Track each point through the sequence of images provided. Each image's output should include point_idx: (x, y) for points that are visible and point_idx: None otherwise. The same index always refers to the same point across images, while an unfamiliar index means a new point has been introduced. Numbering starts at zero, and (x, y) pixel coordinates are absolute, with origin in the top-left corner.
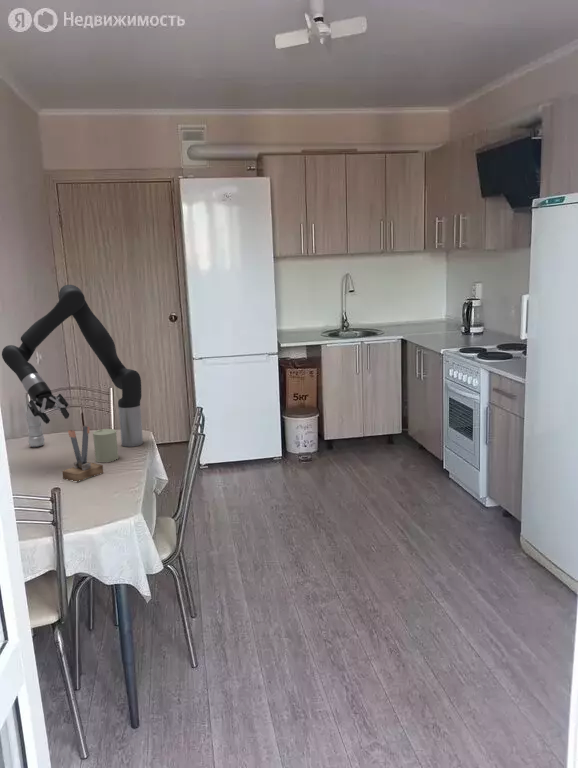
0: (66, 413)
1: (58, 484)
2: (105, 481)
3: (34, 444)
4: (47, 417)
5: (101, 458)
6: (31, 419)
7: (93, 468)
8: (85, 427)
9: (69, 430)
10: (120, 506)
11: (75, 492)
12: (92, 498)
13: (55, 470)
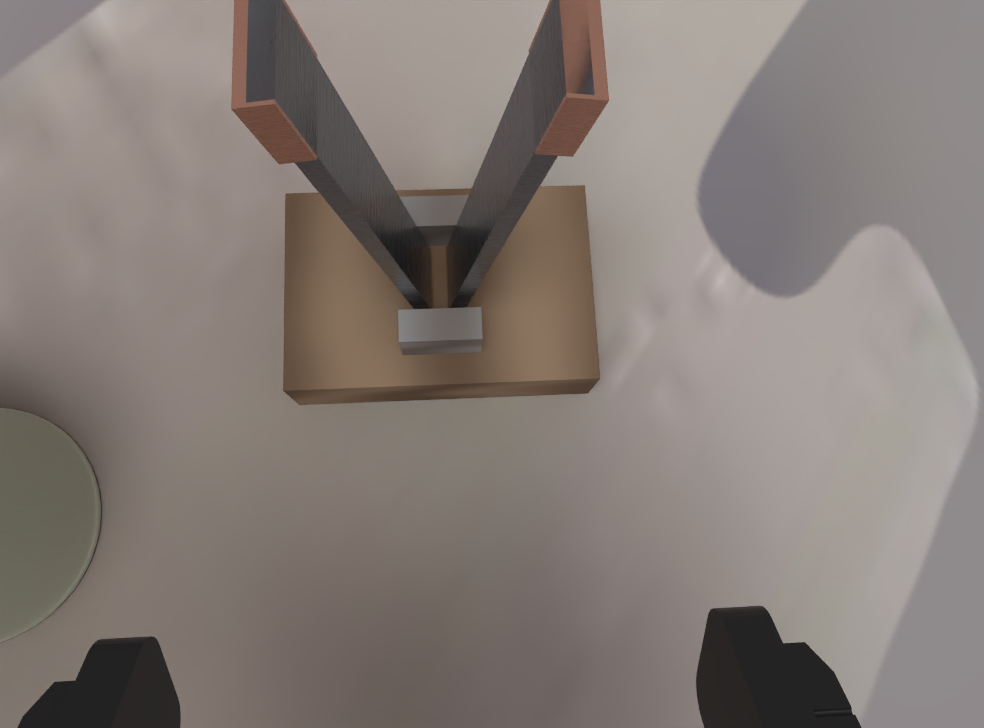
0: (120, 694)
1: (688, 306)
2: (434, 51)
3: None
4: (771, 682)
5: (71, 470)
6: None
7: None
8: (280, 47)
9: (588, 80)
10: None
11: (708, 54)
12: None
13: (485, 675)
